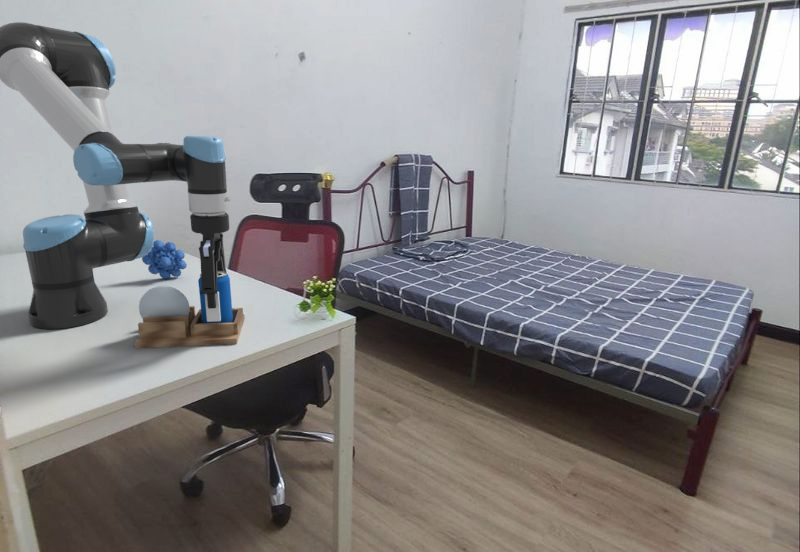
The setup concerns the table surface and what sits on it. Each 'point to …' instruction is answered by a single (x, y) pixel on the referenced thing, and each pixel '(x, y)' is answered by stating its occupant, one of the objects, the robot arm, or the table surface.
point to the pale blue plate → (163, 303)
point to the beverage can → (224, 299)
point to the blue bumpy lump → (165, 260)
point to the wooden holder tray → (188, 330)
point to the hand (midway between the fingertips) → (217, 313)
